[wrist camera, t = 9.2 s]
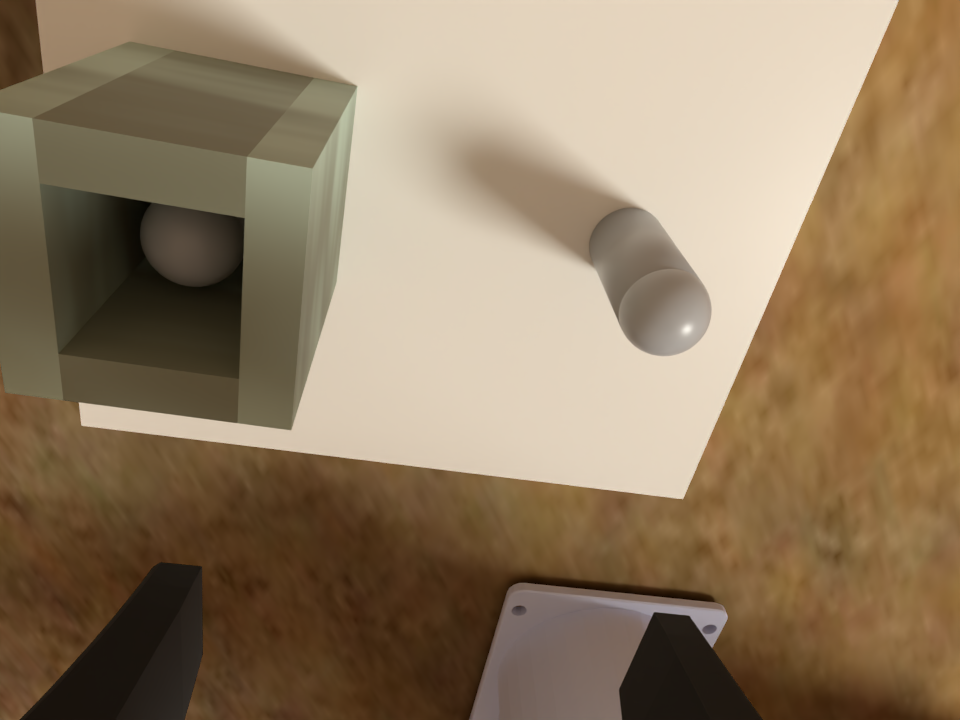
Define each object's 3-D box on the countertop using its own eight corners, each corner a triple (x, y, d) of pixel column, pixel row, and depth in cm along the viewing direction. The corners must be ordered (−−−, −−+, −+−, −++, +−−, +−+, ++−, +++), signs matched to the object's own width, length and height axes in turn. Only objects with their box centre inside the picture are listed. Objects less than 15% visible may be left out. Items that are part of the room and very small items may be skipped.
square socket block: (336, 282, 18) (291, 429, 13) (138, 250, 17) (4, 392, 12) (357, 86, 15) (312, 168, 10) (129, 41, 15) (-41, 104, 10)
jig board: (669, 466, 23) (732, 620, 18) (104, 394, 21) (-7, 546, 16) (892, -80, 15) (1109, -81, 10) (45, -284, 13) (-201, -409, 8)
